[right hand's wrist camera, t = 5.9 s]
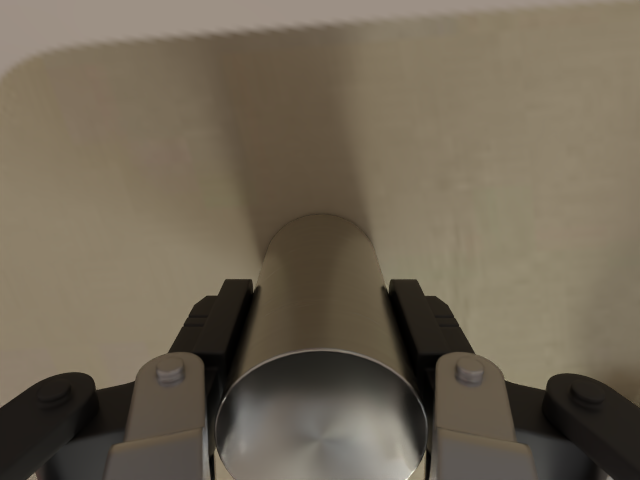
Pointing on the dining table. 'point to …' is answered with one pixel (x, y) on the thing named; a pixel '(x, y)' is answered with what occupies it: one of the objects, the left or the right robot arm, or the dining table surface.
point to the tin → (321, 367)
